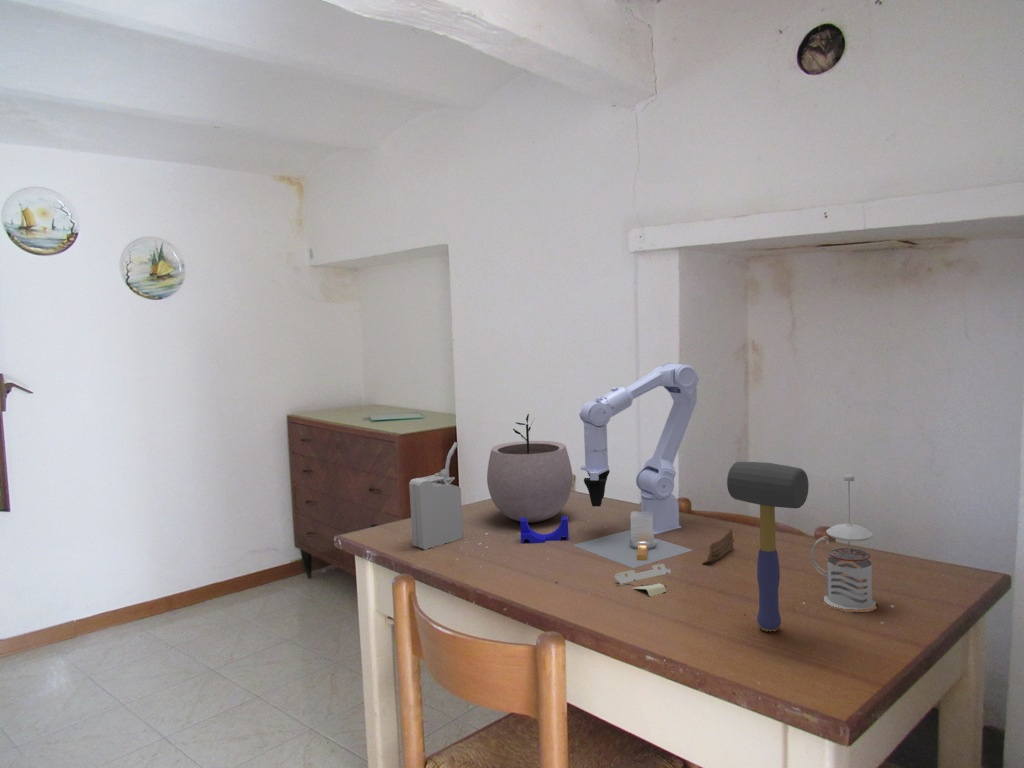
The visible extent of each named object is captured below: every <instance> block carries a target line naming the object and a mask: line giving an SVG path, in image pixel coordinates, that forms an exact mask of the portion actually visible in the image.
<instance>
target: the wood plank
mask: <svg viewBox="0 0 1024 768" xmlns="http://www.w3.org/2000/svg"><path fill="white" fill-rule="evenodd" d="M733 534H734V533H733V530H732V528H730V529H729V530H728V533H726V535H725V536H723V537H722V538H721V539H719V540H717V541H715V542H712V543H711V544H710V545H709V554H708V557H707V560H706V561H704V562H702V565H705V564H708V563H713V562H715V561H717V560H719V559H721V558H723V557H724V556H725V555H726V554H727V553H728V552H732V550H734V542H735V539H734V538H733V537H734V535H733Z"/></svg>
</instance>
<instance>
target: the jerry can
mask: <svg viewBox="0 0 1024 768" xmlns="http://www.w3.org/2000/svg"><path fill="white" fill-rule="evenodd" d="M458 445H459V443H458V442H456V441H454V443H453V445H452V446H451V448H450V449H449V451H448V453H447V456H446V460H445V467H444V468H443V469H440V471H439V472H436V473H434V474H433V475H427V476H424V477H423V476H422V477H416V478H412V479H410V481H409V483H408V484H409V485H408V486H409V487H408V488H409V499H410V500H409V503H410V505H409V506H410V520H411V537H412V546H414V547H416V548H419V549H422V550H426V551H427V550H429V549H428V548H430V549H432V548H431V547H433V548H435V547H434V546H437V547H439V546H438V545H440V546H442V545H441V544H443V545H446V544H445V543H447V544H450V543H452V541H454V542H456V541H455V540H457V541H459V540H458V539H460V540H462V539H463V538H464V526H463V507H462V488H461V487H460V486H457V485H454V484H451V483H453V481H454V480H456V477H455V476H451V477H450V465H451V458H452V456H453V455H454V453H455V451H456V449H457V447H458ZM449 542H450V543H449Z"/></svg>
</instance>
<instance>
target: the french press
mask: <svg viewBox="0 0 1024 768" xmlns="http://www.w3.org/2000/svg"><path fill="white" fill-rule="evenodd" d="M843 481H844V482H848V483H847V485H848V486H847V487H848V488H847V489H848V494H847V495H848V496H847V498H848V501H847V502H848V504H847V505H848V512H847V513H848V515H847V517H848V520H847V521H848V523H839V524H835V525H833V526H831V527H829V528H827V529H826V534H827V535H824V536H822V537H819V538H818V539H817V540H815V543H814V544H813V545H812V548H811V551H810V556H811V557H810V558H811V559H810V560H811V564H812V565H813V567H814V569H815V570H816V571H817V572H818V573H819V574H822V576H824V577H825V579H826V580H825V581H826V583H825V584H826V586H825V587H826V594H825V595H824V596H823V597H824V601H825V602H826V603H827V604H829V605H831V606H834V607H837V608H838V607H839V608H843V609H855V610H858V609H860V610H861V609H868V608H871V607H873V606H874V605H875V602H876V600H874V599H873V598H872V597H873V593H872V592H873V588H872V587H873V584H872V583H873V582H872V581H873V579H872V578H873V574H872V573H873V572H872V571H873V570H872V569H873V568H872V567H873V564H872V561H871V560H869V559H870V557H871V554H870V553H868V552H867V551H865V550H862V549H859V548H854V547H851V545H850V544H851V542H864V541H869V540H871V539H872V538H873V537H874V535H873V532H871V531H870V530H868V529H867V528H865V527H863V526H860V525H858V524H853V523H851V520H850V517H851V515H850V512H851V511H850V510H851V505H850V500H851V499H850V491H851V490H850V489H851V488H850V486H851V485H850V482H855V476H854V475H853V474H851V473H850V474H849V473H848V474H845V475H844V476H843ZM828 536H829V537H828ZM830 537H831V538H833V539H837V540H842V541H848V547H834V548H832V549H830V550H829V551H828V553H829V554H828V555H829V557H828V558H827V571H826V570H824V569H823V568H822V567H820V566H819V565H818V563H817V561H816V558H815V548H816V545H817V544H819V542H822V541H825V545H826V546H828V545H829V543H830ZM841 561H842V562H843V563H839V562H841ZM844 562H845V563H844ZM848 562H853V563H855V564H856V565H857V566H859V567H857V566H856V565H855V564H852V563H848ZM837 563H839V564H837ZM836 564H837V565H836ZM821 571H822V572H821ZM823 572H824V573H823ZM841 574H842V575H841ZM843 574H845V575H843ZM841 581H843V582H841ZM861 581H862V582H861ZM860 587H861V588H863V589H861V588H860Z"/></svg>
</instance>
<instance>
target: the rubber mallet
mask: <svg viewBox="0 0 1024 768" xmlns="http://www.w3.org/2000/svg"><path fill="white" fill-rule="evenodd" d="M726 486H727V487H726V488H727V490H728V494H729V495H730V497H731V498H733V499H734V500H735V501H736V500H737V501H741V502H745V503H750V504H755V505H759V538H760V539H759V550H758V553H757V563H756V564H757V565H756V567H757V568H756V579H757V585H758V612H757V616H756V618H757V619H756V621H757V623H758V625H759V627H760V629H761V631H764V630H765V631H764V632H768V631H770V632H769V633H772V632H771V631H774V632H776V630H777V629H778V628H779V627H780V626H781V624H782V619H781V615H780V611H779V610H780V609H779V607H780V606H779V588H780V578H781V574H780V573H781V572H780V571H781V569H780V561H779V553H778V551H777V548H776V546H777V545H776V543H777V542H776V513H775V512H776V510H775V509H776V508H783V509H784V508H786V509H800V508H801V507H802V506H804V504H805V503H806V501H807V498H808V494H809V477H808V474H807V472H806V471H805V470H804V469H802V468H800V467H795V466H790V465H785V464H778V463H773V462H760V461H736V462H734V463H733V464H732V465H731V467H730V468H729V471H728V473H727V478H726ZM777 631H778V630H777Z"/></svg>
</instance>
